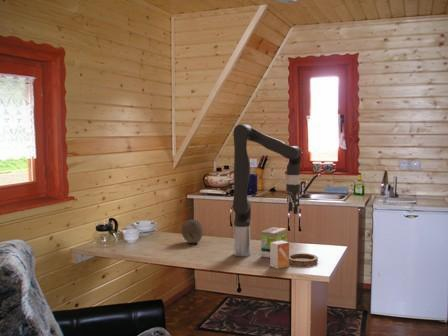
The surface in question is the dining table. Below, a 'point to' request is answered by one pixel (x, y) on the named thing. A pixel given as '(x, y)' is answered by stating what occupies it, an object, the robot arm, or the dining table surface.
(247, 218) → the robot arm
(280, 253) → the small box
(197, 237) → the cantaloupe
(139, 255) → the dining table surface
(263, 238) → the tea box
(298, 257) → the tray
